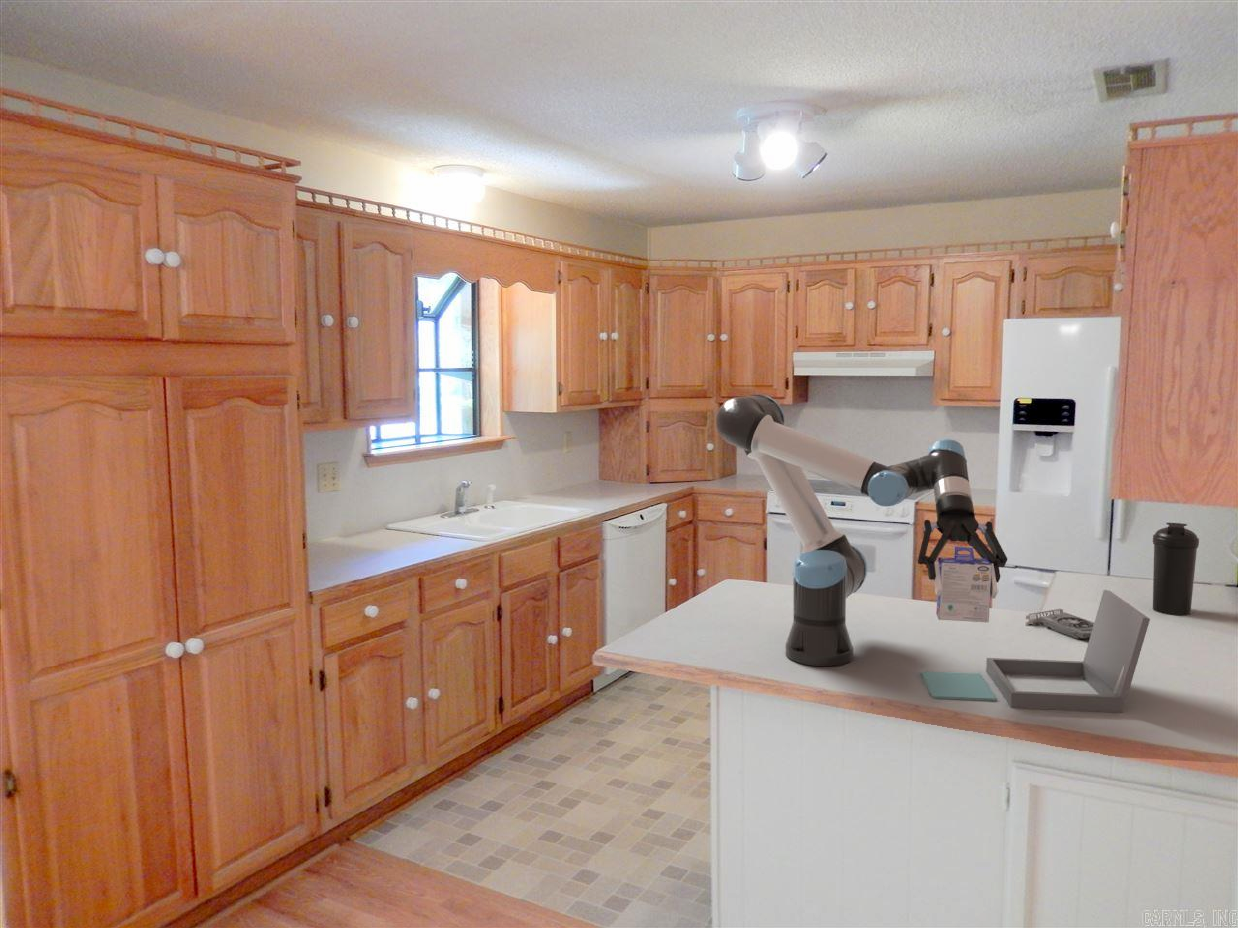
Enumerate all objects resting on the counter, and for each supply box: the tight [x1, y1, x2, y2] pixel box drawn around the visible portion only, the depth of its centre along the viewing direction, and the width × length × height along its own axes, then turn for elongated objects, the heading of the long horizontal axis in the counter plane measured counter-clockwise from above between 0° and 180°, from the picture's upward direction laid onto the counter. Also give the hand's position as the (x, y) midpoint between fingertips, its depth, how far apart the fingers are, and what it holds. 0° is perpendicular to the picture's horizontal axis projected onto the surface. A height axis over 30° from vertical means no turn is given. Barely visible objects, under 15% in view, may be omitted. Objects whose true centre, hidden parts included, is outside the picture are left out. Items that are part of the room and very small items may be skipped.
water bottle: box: [1152, 522, 1200, 616], centre depth 231 cm, size 10×10×23 cm
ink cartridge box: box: [935, 546, 992, 623], centre depth 180 cm, size 10×6×14 cm, turn 79°
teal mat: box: [920, 670, 997, 702], centre depth 183 cm, size 12×14×1 cm
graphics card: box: [1025, 608, 1095, 640], centre depth 217 cm, size 17×4×12 cm
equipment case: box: [985, 589, 1151, 714], centre depth 178 cm, size 24×20×19 cm
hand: (966, 593), depth 177 cm, fingers closed on ink cartridge box, 10 cm apart
